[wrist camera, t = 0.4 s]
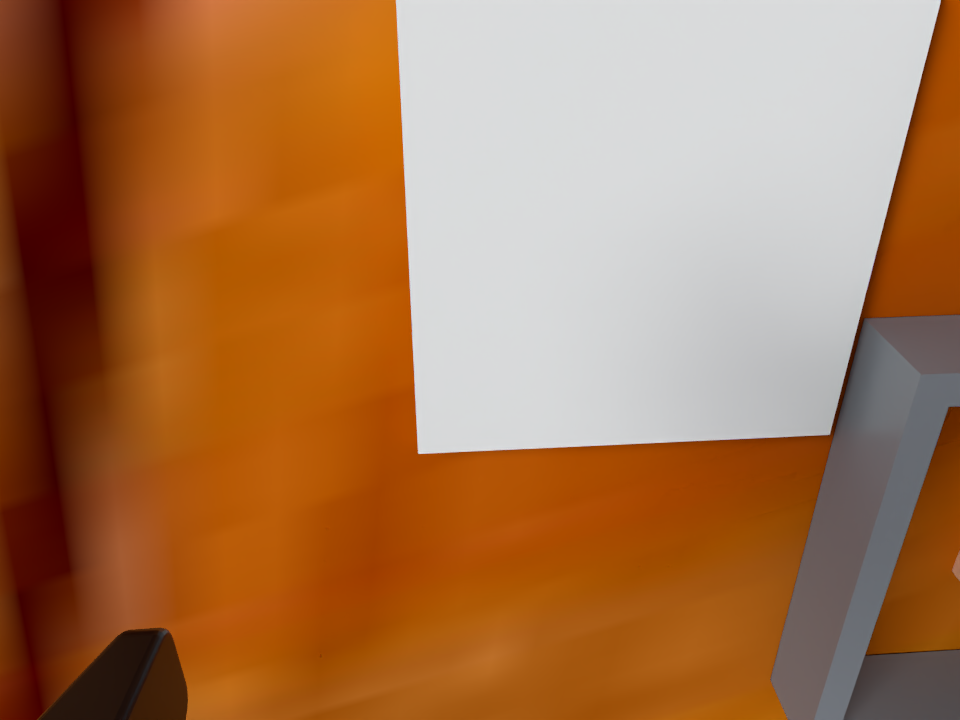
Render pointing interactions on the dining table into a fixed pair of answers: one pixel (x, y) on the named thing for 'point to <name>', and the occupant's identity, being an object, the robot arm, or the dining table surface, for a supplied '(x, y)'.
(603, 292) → the white flat square slab
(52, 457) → the dining table surface
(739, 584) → the dining table surface
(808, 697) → the grey tray
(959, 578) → the block
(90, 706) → the robot arm
